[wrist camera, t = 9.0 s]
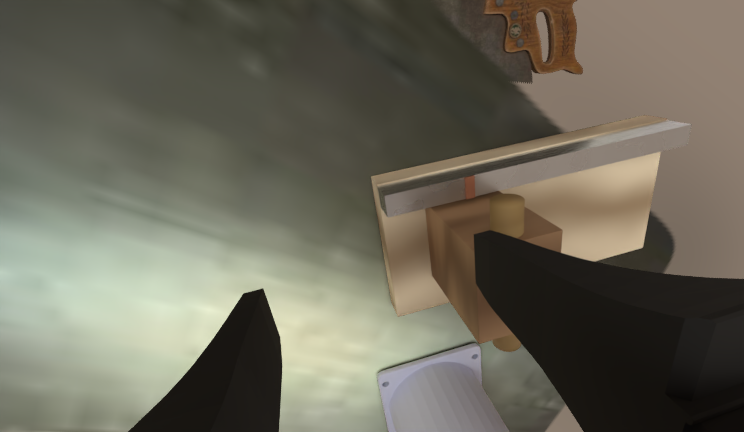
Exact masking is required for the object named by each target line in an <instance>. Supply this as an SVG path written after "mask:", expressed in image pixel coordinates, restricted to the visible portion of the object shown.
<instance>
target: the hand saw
mask: <svg viewBox="0 0 744 432" xmlns="http://www.w3.org/2000/svg"><path fill="white" fill-rule="evenodd" d="M432 1H433V2H434V4H435V6H436V7H437V8H438V9H440V10H441V11H442V12H443V13H444V15H445V16H446V18H447V19H449V20H450V21H451V22H452V23H453V24H454V26H455V27H456V28H457V29H458V30H459V31H461V32H462V33H463V34H464V35H465V37H466V38H467V39H468V40H469V41H471V42H472V43H473V44H474V45H476V47H477V48H478V49H479V50H480V51H481V52H483V53H484V54H485V55H487V56H488V57H489V58H490V60H491V61H492V62H494V63H495V64H496V65H498V66H499V67H500V68H501V69H502V70H503V72H504V73H506V74H507V75H508V76H509V77H511V79H512V80H513V81H514V82H515V83H516V82H517V83H518V82H519V83H520V82H521V83H522V82H523V83H524V82H525V83H526V82H527V84H528V82H529V84H530V82H531V84H532V82H533V81H532V71H533V72H534V73H539V74H540V73H541V74H546V73H551V72H555V71H559V70H564V71H566V72H569V73H572V74H582V73H583V68H582V67H581V65H580V64H579V63H578V62H577V60H576V58H575V54H574V49H575V41H576V33H577V25H576V19H575V16H574V13H573V9H572V5H573V3H574V2H575V1H577V0H432ZM538 12H543V13H544V16H545V19H546V24H547V30H548V57H547V60H546V62H543V60H542V50H541V41H540V35H539V31H538V28H537V24H536V15H537V13H538Z"/></svg>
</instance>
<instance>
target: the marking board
mask: <svg viewBox="0 0 744 432" xmlns="http://www.w3.org/2000/svg"><path fill="white" fill-rule="evenodd" d="M691 126H692V124H687V123H681V122H674V121H668V120H667V119H666V118H660V117H654V116H647V115H643V116H638V117H634V118H629V119H625V120H620V121H616V122H611V123H607V124H603V125H598V126H594V127H589V128H585V129H580V130H576V131H571V132H567V133H562V134H558V135H553V136H549V137H545V138H540V139H536V140H531V141H527V142H522V143H518V144H513V145H509V146H504V147H500V148H495V149H491V150H487V151H482V152H478V153H473V154H469V155H464V156H460V157H455V158H451V159H446V160H442V161H438V162H433V163H429V164H424V165H420V166H415V167H411V168H406V169H402V170H397V171H393V172H388V173H384V174H380V175H375V176H371V181H372V187H373V193H374V199H375V205H376V211H377V217H378V223H379V229H380V235H381V241H382V247H383V253H384V260H385V266H386V272H387V278H388V284H389V290H390V296H391V302H392V305H393V307H394V309H395V311H396V314H397V316H398V317H399V316H403V315H406V314H410V313H414V312H417V311H421V310H424V309H428V308H431V307H435V306H438V305H442V304H445V303H449V302H450V301H449V300H448V298H447V297H446V295H445V294H444V292H443V291H442V289H441V288H440V287H439V285H438V284H437V282H436V281H435V279H434V278H433V276H432V271H431V262H430V252H429V242H428V232H427V222H426V213H425V209H426V208H430V207H434V206H438V205H442V204H446V203H450V202H455V201H459V200H463V199H471V198H475V196H479V195H484V194H488V193H492V192H496V191H500V192H501V193H503V194H517V195H520V196H522V197H523V198H524V199H525V207H526V208H528V209H529V210H531V211H533V212H534V213H536V214H538V215H539V216H541V217H542V218H544V219H546V220H547V221H549V222H551V223H552V224H554V225H556V226H557V227H559V228H561V229H562V230H563V233H562V246H561V253H563V254H567V255H570V256H574V257H577V258H581V259H585V260H589V261H593V262H594V261H598V260H601V259H605V258H608V257H612V256H615V255H619V254H622V253H626V252H629V251H633V250H636V249H640V248H643V244H644V238H645V233H646V228H647V223H648V217H649V212H650V207H651V201H652V196H653V190H654V185H655V180H656V175H657V169H658V164H659V159H660V153H661V151H665V150H669V149H674V148H678V147H682V146H686V145H687V144H688V140H689V135H690V131H691Z"/></svg>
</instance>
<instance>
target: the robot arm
mask: <svg viewBox="0 0 744 432" xmlns="http://www.w3.org/2000/svg"><path fill="white" fill-rule="evenodd" d="M474 256H475V280H476V285H477V286H478V288H479V290H480V291H481V293H482V294H483V296H484V298H485V299H486V301H487V302H488V304H489V305H490V307H491V308H492V309H493V310H494V312H495V313H496V314H497V315H498V316H499V318H500V319H501V320H502V321H503V322H504V324H505V325H506V326H507V327H508V328H509V329H510V331H511V332H512V333H513V334H514V335H515V336H516V338H517V339H518V340H519V341H520V342H521V343H522V345H523V346H524V347H525V348H526V349H527V350H528V352H529V353H530V354H531V355H532V356H533V358H534V359H535V360H536V362H537V363H538V364H539V365H540V367H541V368H542V369H543V371H544V372H545V374H546V375H547V377H548V378H549V380H550V381H551V383H552V384H553V385H554V387H555V388H556V390H557V391H558V393H559V394H560V396H561V397H562V399H563V400H564V402H565V403H566V405H567V406H568V408H569V409H570V411H571V413H572V414H573V416H574V417H575V419H576V420H577V422H578V423H579V425H580V427H581V428H582V430H583V431H584V432H744V279H727V278H704V277H693V276H681V275H671V274H662V273H654V272H647V271H641V270H634V269H628V268H622V267H617V266H612V265H607V264H603V263H598V262H593V261H589V260H585V259H581V258H577V257H574V256H570V255H567V254H563V253H560V252H557V251H553V250H550V249H547V248H544V247H541V246H538V245H535V244H532V243H529V242H526V241H523V240H520V239H517V238H515V237H512V236H509V235H506V234H502V233H499V232H496V231H492V230H488V231H485V232H481V233H477V234H474ZM377 380H378V385H379V390H380V394H381V399H382V404H383V409H384V414H385V418H386V423H387V428H388V432H510V431H509V430H508V428H507V427H506V425H505V423H504V422H503V420H502V418H501V417H500V415H499V413H498V412H497V410H496V409H495V407H494V405H493V404H492V402H491V400H490V399H489V397H488V395H487V394H486V392H485V391H484V389H483V387H482V371H481V349H480V347H479V345H478V344H476V343H473V344H469V345H466V346H462V347H459V348H456V349H453V350H449V351H446V352H443V353H439V354H436V355H433V356H429V357H426V358H423V359H419V360H416V361H413V362H409V363H406V364H403V365H400V366H396V367H393V368H390V369H386V370H383V371H381V372H379V373H378V375H377ZM386 381H387V382H386ZM281 382H282V355H281V343H280V336H279V333H278V330H277V327H276V324H275V321H274V319H273V316H272V313H271V310H270V307H269V304H268V301H267V298H266V295H265V292H264V290H263V289H259V290H256V291H252V292H248V293H244V294H243V295H242V297H241V298H240V300H239V301H238V303H237V304H236V306H235V307H234V309H233V310H232V312H231V313H230V315H229V316H228V318H227V319H226V321H225V322H224V324H223V325H222V327H221V328H220V330H219V331H218V333H217V334H216V335H215V337H214V338H213V340H212V341H211V342H210V344H209V345H208V346H207V348H206V349H205V350H204V352H203V353H202V354H201V355H200V357H199V358H198V359H197V361H196V362H195V363H194V364H193V366H192V367H191V368H190V369H189V370H188V372H187V373H186V374H185V375H184V376H183V377H182V378H181V380H180V381H179V382H178V383H177V384H176V385H175V386H174V387H173V388H172V389H171V390H170V392H169V393H168V394H167V395H166V396H165V397H164V398H163V399H162V400H161V401H160V402H159V403H158V404H157V405H156V406H155V407H153V408H152V409H151V410H150V411H149V412H148V413H147V414H146V415H145V416H144V417H143V418H142V419H141V420H140V421H139V422H138V423H137V424H136V425H135V426H134V427H133V428H131V429H130V430H129V431H128V432H279V418H280V400H281Z"/></svg>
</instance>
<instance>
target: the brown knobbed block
mask: <svg viewBox="0 0 744 432" xmlns="http://www.w3.org/2000/svg"><path fill="white" fill-rule="evenodd" d="M425 213H426V222H427V232H428V242H429V252H430V262H431V271H432V276H433V278H434V279H435V281H436V282H437V284H438V285H439V287H440V288H441V289H442V291H443V292H444V294H445V295H446V297H447V298H448V300H449V301H450V302H451V304H452V305H453V307H454V308H455V310H456V311H457V313H458V314H459V315H460V317H461V318H462V320H463V321H464V323H465V324H466V326H467V327H468V328H469V330H470V331H471V333H472V334H473V336H474V337H475V339H476V340H477V341H478V343H479V344H481V343H484V342H488V341H491V340H492V342H493V344H494V346H495V347H496V348H498V349H500V350H502V351H506V352H511V351H515V350H517V349H519V348H520V346H521V342H520V341H519V340H518V339H517V338H516V336H515V335H514V334H513V333H512V332H511V331H510V329H509V328H508V327H507V326H506V325H505V324H504V322H503V321H502V320H501V319H500V318H499V316H498V315H497V314H496V313H495V312H494V310H493V309H492V308H491V307H490V305H489V304H488V302H487V301H486V299H485V298H484V296H483V294H482V293H481V291H480V290H479V288H478V286H477V285H476V280H475V256H474V234H477V233H481V232H485V231H488V230H492V231H496V232H499V233H502V234H506V235H509V236H512V237H515V238H517V239H520V240H523V241H526V242H529V243H532V244H535V245H538V246H541V247H544V248H547V249H550V250H553V251H557V252H560V253H561V246H562V233H563V230H562V229H561V228H559V227H557V226H556V225H554V224H552V223H551V222H549V221H547V220H546V219H544V218H542V217H541V216H539V215H538V214H536V213H534V212H533V211H531V210H529V209H528V208H526V207H525V199H524V198H523V197H522V196H520V195H517V194H503V193H501V192H500V191H496V192H492V193H488V194H484V195H479V196H475V198H471V199H463V200H459V201H455V202H450V203H446V204H442V205H438V206H434V207H430V208H426V209H425Z"/></svg>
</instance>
